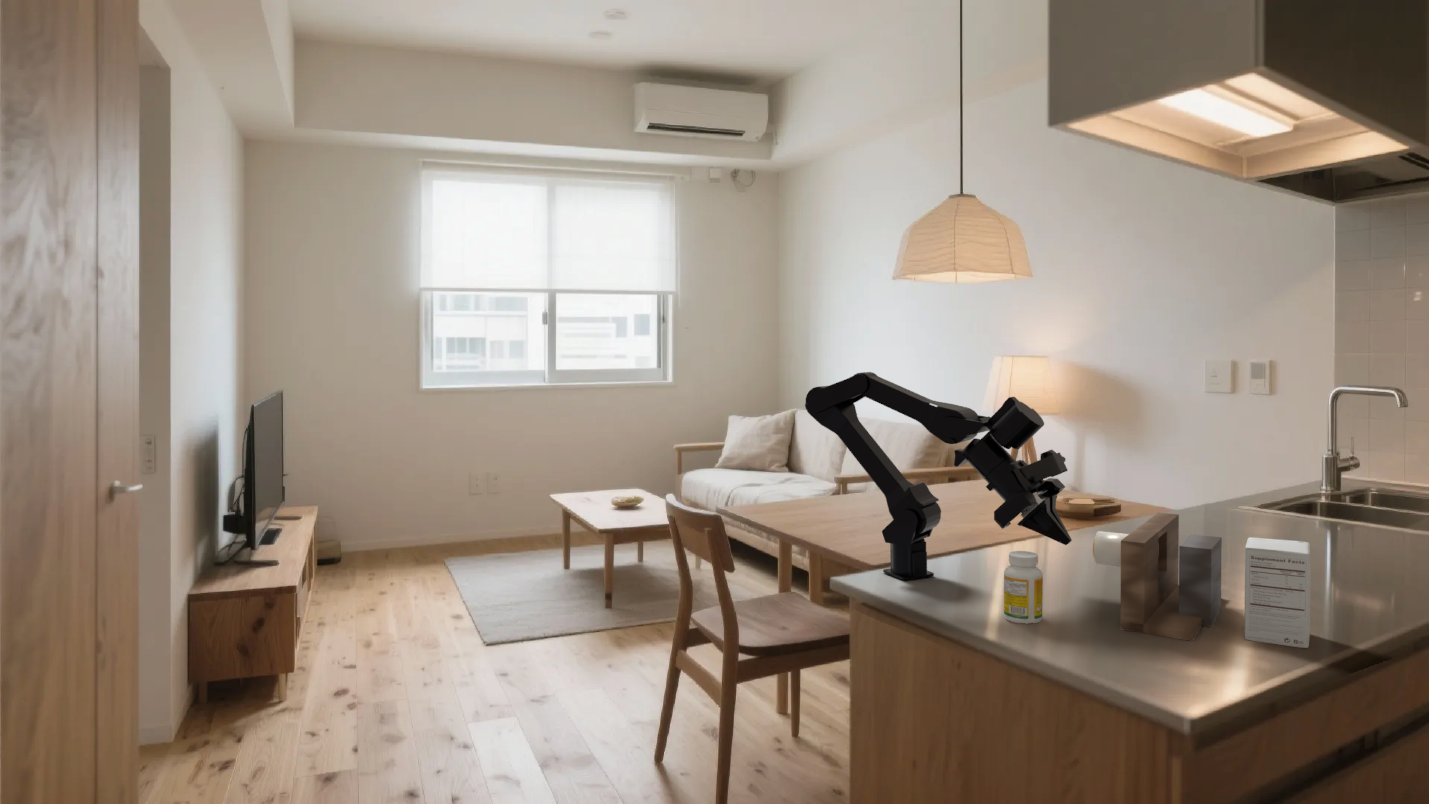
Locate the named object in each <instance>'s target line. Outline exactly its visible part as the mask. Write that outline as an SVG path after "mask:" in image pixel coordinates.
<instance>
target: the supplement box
mask: <svg viewBox="0 0 1429 804" xmlns="http://www.w3.org/2000/svg"><path fill="white" fill-rule="evenodd" d="M1310 544H1311V543H1310V542H1307V541H1301V540H1290V539H1289V540H1288V539H1279V538H1278V539H1277V538H1276V539H1275V538H1262V537H1250V536H1249V537H1248V538H1247V541H1246V544H1245V547H1244V639H1245V640H1246V641H1252V642H1257V643H1263V644H1264V643H1266V644H1274V645H1278V646H1279V645H1280V646H1287V647H1294V648H1300V649H1301V648H1303V649H1308V648H1309V644H1310V634H1311V632H1310V631H1311V552H1310V551H1311V550H1310V549H1311V548H1310V547H1311V545H1310Z"/></svg>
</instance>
